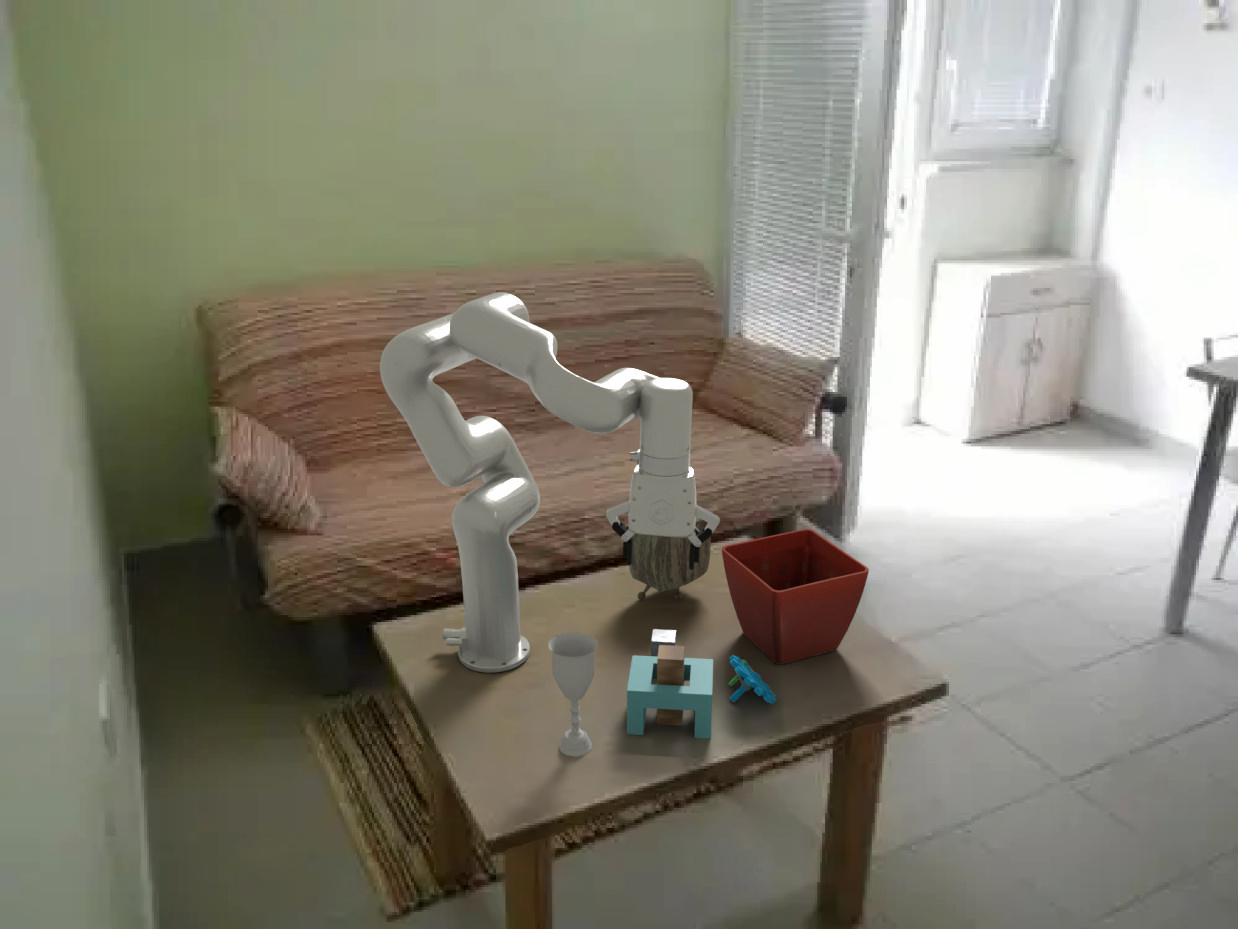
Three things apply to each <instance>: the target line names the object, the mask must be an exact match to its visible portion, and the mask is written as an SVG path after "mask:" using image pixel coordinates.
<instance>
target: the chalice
mask: <svg viewBox="0 0 1238 929" xmlns="http://www.w3.org/2000/svg"><path fill="white" fill-rule="evenodd" d="M598 643H599V642H598V641H597V639H596V638H594V637H593V636H592V635H589V634H587V633H585V632H584V633H583V632H578V631H577V632H571V631H570V632H565V633H560V634H557V635H555V636H552V637H551V638H550V640H549V641H548V643H547V645H548V649H549V650H550V652H551V656H552V657H551V660H552V661H551V662H552V663H551V665H552V676H553V677H554V680H555V682H556V685H557V686H558V688H559V690H560V691H561V693H562V694H563V696H564V697H565V699H566V700H568V701H570V703H571V704H570V706H569V709H568V711H570V713H571V714H570V715H571V716H570V717H569V718H568V720H569V722H570V724H571V728H570V729H568V730H566V731H565V733H564V734H563V736H562V737H561V741H560V743H558V744H559V746H558V748H559V751H561V753H562V754H563V755H566V756H569V757H581V756H584V755H587V754H588V753H589V752H591V750H592V749H593V743H592V741H591V740H590V736H588V734H587V732H586V731H585V730H584V729H583V728H580V727H579V723H580V722H581V721H582V718H581V717H580V716H579V712H580V711H581V708H580V706H579V704H578V702H579V700H582V699H583V698H584V697H585V695H586V693H587V691H588V689H589V688H590V686H591V684H592V681H593V678H594V676H595V652H596V649H597V648H598Z"/></svg>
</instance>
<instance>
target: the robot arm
mask: <svg viewBox="0 0 1238 929" xmlns="http://www.w3.org/2000/svg"><path fill="white" fill-rule="evenodd" d="M557 355H558V341H557V339H556V336H555V335H554V334H553V333H552V332H551V331H548V330H546V329H544V328H542V327H539V326H538V325H535V324H533V323H531V321H530V315H529V311H528V308H527V306H526V305H525V304H524V303H523V301H522V300H521V299H520V298H518V297H517V296H515V295H513V294H511V293H508V292H503V291H501V292H494V293H493V292H492V293H490V294H487V295H485V296H481V297H479V298H476V299H473V300H470V301H468V302H466V303H464V304H462V305H461V306H460V307H459V308H457V310H456V311H454V312H452V313H450V314H447V315H444V316H442V317H438V318H436V319H433V320H431V321H430V320H429V321H427V322H425V323H422V324H419V325H416V326H413V327H410V328H408V329H405V330H404V331H402V332H400V333H399V334H397V335H395V336H394V337H393V338H392V339H391V340H390V341H389V342H388V343H387V344H386V345H385V347H384V350H383V351H382V353H381V357H380V361H379V362H380V363H379V373H380V379H381V382H382V385H383V388H384V390H385V392H386V393H387V395H388V397H389V399H390V400H391V402H392V403H393V404H394V406H395V407H396V408H397V410H398V411H399V412H400V414H401V416H402V417H403V418H404V420H405V421H406V423H407V426H408V427H409V429H410V432H412V435H413V437H414V439H415V441H416V443H417V445H418V446H419V448H420V450H421V452H422V454H423V455H424V457H425V459H426V461H427V463H428V464H429V466H430V469H431V470H432V472H433V474H434V475H435V477H436V478H437V480H438V481H439V482H440V483H441V484H442V485H443V486H446V487H447V488H454V489H455V488H460V487H463V486H466V485H468V484H470V483H472V482H474V481H475V480H477V479H478V478H480V477H481V479H482V480H483V483H482V484H481V485H479V486H478V487H475V488H474V489H472V490H470V491H469V492H468V493H467V494H465V495H464V496H463V497H462V498H461V499H460V500H459V501H458V502H457V504H456V505H455V507H454V509H453V512H452V517H451V523H452V530H453V534H454V537H455V540H456V544H457V547H458V553H459V559H460V572H461V573H460V574H461V580H462V596H463V612H464V627H461V629H458V628H457V629H455V628H443V631H442V639H443V640H446V641H445V644H446V646H449V647H456V646H457V647H458V650H457V652H458V659H459V661H460V663H461V664H462V665H463V666H465V667H466V668H468V669H470V670H472V671H474V672H480V673H490V674H492V673H501V672H507V671H509V670H512V669H515V668H518V667H519V666H521V665H522V664H523V663H525V662H526V661H527V660H528V658H529V657H530V654H531V646H530V644H531V643H529V640H528V639H527V638H526V637H525V636H523V635H521V615H520V594H519V574H518V562H517V557H516V554H515V551H514V550H513V548H512V547H511V545H510V540H509V538H510V535H511V534H512V533H513V532H514V531H516V530H517V529H518V528H520V527H521V526H522V525H524V524H526V522H528V521H529V520H530V519H531V518H533V517H534V515H536V513H537V512H538V510H539V508H540V507H539V506H540V502H541V497H540V491H539V488H538V485H537V483H536V481H535V479H534V477H533V475H532V473H531V470H530V469H529V468H528V465H527V463H526V461H525V459H524V458H523V456H522V454H521V452H520V450H519V448H518V447H517V443H515V441H514V439H513V437H512V435H511V434H510V432H509V431H508V429H507V428H506V427H505V426H504V425H503V424H502V423H501V422H499V421H498V420H497V419H494V418H493V417H490V416H487V415H476V416H473V417H471V418H467V419H466V420H465V419H464V417H463V415H462V414H461V412H460V410H459V408H458V406H457V404H456V402H455V401H454V399H453V398H452V397H451V396H450V394H448V392H447V391H446V390H445V389H444V388H442V387H441V386H440V385H438V384H436V383H435V382H434V381H433V380H434V378H435V377H436V376H438V375H440V374H443V373H445V372H448V371H450V370H452V369H455V368H456V367H457V368H458V367H459V366H463V365H464V364H466V363H468V362H470V361H473V360H475V359H478V360H479V361H482V362H484V363H486V364H488V365H490V366H492V367H493V368H496V369H498V370H500V371H502V372H504V373H507V374H508V375H510V376H512V377H515V378H516V379H519V380H521V381H522V382H524V383H526V384H527V385H528V387H529V388H530V391H531V393H532V394H533V395H534V397H535V398H536V399H537V400H538V402H539V403H540V404H541V405H542V406H543V407H544V409H546V410H547V411H548V412H549V413H550V414H553V416H555V417H557V418H558V419H561V420H562V421H565V422H566V423H569V424H570V425H572V426H574V427H577V428H579V429H582V430H583V431H586V432H589V433H593V434H598V435H605V434H610V433H613V432H615V431H617V430H618V429H620V428H621V427H623V426H624V425H625V424H628V423H629V422H630V421H634V420H636V419H640V422H639V423H640V425H639V429H640V430H639V449H637V451H630V452H629V461H631V462H635V463H636V464H637V465H636V466H635V468H634V469H633V473H632V477H631V482H630V490H629V500H627V501H625V502H624V501H623V502H622V503H619V504H617V505H614V506H612V507H609V508H607V510H606V513H605V516H606V518H607V521H608V522H609V525H611V529H612V530H613V532H615V533H616V534H617V535H618V536H619V537H620V539H621V541H622V542H623V546H622V547H623V548H622V557H623V558H626V566H629V565H630V564H632V561H633V556H634V536H633V535H634V534H640V535H651V536H665V537H688V538H689V540H690V541H691V544H690V558H689V569H690V570H694V563H695V562H696V563H699V552H700V546H701V544H702V543H703V542H704V541H705V540H707V539H708V538H709V537H710V536H711V537H712V535H713V533H714V532H715V531H716V530H717V527H718V525H719V524H720V521H721V520H720V517H719V515H717V514H714V513H713V512H711V511H709V510H708V509H706V508H704V507H702V506H700V505H698V504H697V488H696V478H695V471H694V469H693V468H692V467H691V466H690V465H691V445H692V444H691V443H692V442H691V440H692V419H693V416H692V415H693V401H694V400H693V395H694V394H693V389H692V386H691V385H690V384H689V383H688V382H686V381H685V380H682V379H679V378H674V377H659V376H657V375H654V374H650V373H648V372H646V371H643V370H640V369H637V368H633V367H622V368H618V369H616V370H614V371H612V372H610V373H609V374H607V375H604V376H603V377H602V378H599V379H598V380H596V381H594V382H593V381H591V380H589V379H585V378H583V377H582V376H579V375H577V374H575V373H573V372H572V371H570V370H568V369H567V368H565V367H564V366H563V365H561V364H560V363H559V361H558V360H557V359H556V358H557ZM626 513H628V518H627V522H628V524H627V525H625V524H624V522H622V521H621V520H620V519H619V516H620V515H624V514H626ZM696 516H697V517H699V518H701V519H702V520H704V521H706V522H708V524H707V526H706V527H704V528H703V529H702V530H701V531H699V530H698V529H697V527H696V526H695V524H696Z"/></svg>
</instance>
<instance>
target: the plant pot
mask: <svg viewBox="0 0 1238 929" xmlns="http://www.w3.org/2000/svg"><path fill="white" fill-rule="evenodd" d="M721 555H722V561H723V567H724V571H725V577H726V581H727V587H728V590H729V595H730V598H731V601H732V604H733V608H734V611H735V614H736V617H737V620H738V622H739V625H740V628H741V631H742V633H743V635H745V636H746V638H748V639H749V640H750V641H751V642H752V643H753V644H754V645H755V646H756V648H758V649H760V651H762V652H763V653H764V654H765V655H766V656H767V657H768V658H769V659H770V660H771V661H772V662H774V663H775V664H777V665H783V664H787V663H791V662H797V661H800V660H803V659H808V658H810V657H811V658H812V657H815V656H819V655H822V654H827V653H831V652H835V651H837V649H838V648H839V646H840V645H841V644H842V641H843V640H844V638H845V636H846V634H847V632H848V631H849V628H850V626H851V624H852V622H853V620H854V617H855V615H856V613H857V611H858V607H859V605H860V602H861V600H862V599H861V598H862V597H863V596H862V595H863V593H864V590H865V586H866V583H867V581H868V576H869V570H870V569H869V567H867V566H866V565H864V563H862V562H860V561H859V560H857V559H856V558H855V557H853V556H852V555H850V554H848V553H847V552H845V551H844V550H843V549H841V548H839V547H838V546H837V545H835V544H834V543H833V542H831V541H829V540H828V539H826V538H825V537H823V535H821V534H819V532H816V531H815V530H814V529H811V528H804V529H798V530H797V529H796V530H794V531H788V532H783V533H779V534H774V535H769V536H764V537H759V538H755V539H751V540H746V541H741V542H735V543H731V544H726V545H724V546H722V547H721Z"/></svg>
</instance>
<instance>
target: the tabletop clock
mask: <svg viewBox="0 0 1238 929" xmlns="http://www.w3.org/2000/svg"><path fill="white" fill-rule="evenodd" d="M707 524H708V522H706V521H704V520H702V519H701V518H699V517H697V516H696V524H695V526H696V527H697V529H698V530H699V531H701V530H702V529H703V528H704V527H706V526H707ZM633 536H634V556H633V561H632V564H630V565H628V568H629V571H630V572H629V573H630V576H631V578H632V579H633V580H636V581H638V582H640V583H643V584H644V585H646V586H645V588H644V590H643V591H639V592H638V593H637V599H638V600H640V601H643V600H645V599H646V598H647V596H646V593H647V592H648V591H649V590H650V589H651V588H653V589H655V590H657V591H658V592H665V591H666V592H667V591H671V590H675V592H674V594H673V596H674V599H675V600H678V601H680V600H682V598H683V592H681V591H680V589H679V588H681V587H683V586H686V585H688V584H690V583H692V582H695V581H696V580H698V579H699V578H701V577H702V576H704V575H705V574H706V572H708V569H709V566H710V559H711V542H712V539H711V537H712V535H711V536H710V537H709V538H708V539H707V540H705V541H704V542H703V543H702V544H701V546H700V552H699V563H696V562H695V563H694V570H690V569H689V558H690V544H691V541H690V540H689V538H688V537H665V536H651V535H640V534H634V535H633Z"/></svg>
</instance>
